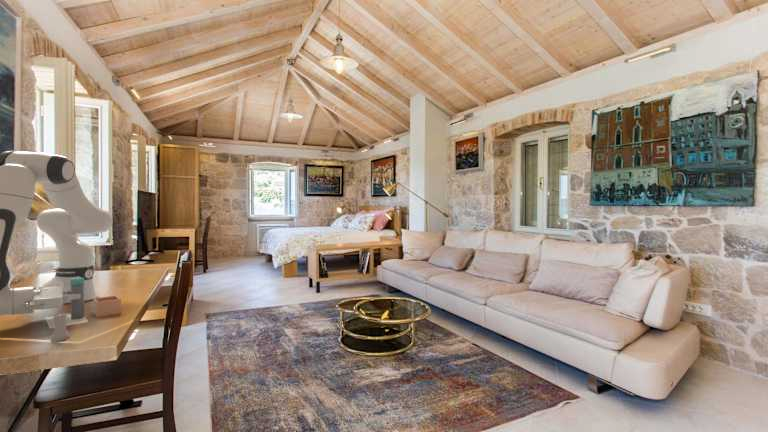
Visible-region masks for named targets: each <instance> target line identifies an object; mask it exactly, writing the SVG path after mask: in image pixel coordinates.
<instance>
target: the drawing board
mask: <svg viewBox="0 0 768 432" xmlns="http://www.w3.org/2000/svg"><path fill="white" fill-rule="evenodd" d="M66 315H67V317H66V319H65V320H66V322H65V325H66V327H68V326H71V325H73V326H74V325H79V324H84V323H85V324H87V323H89V320H88V319H87V318H86V317H85V315H84V318H81V319H71V313H67V314H66ZM54 316H55V315H54ZM54 316H47V317H45V321H46V323H47V325H48V328H49V329H55V324H54V322H55V320H54V319H53V317H54Z"/></svg>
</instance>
